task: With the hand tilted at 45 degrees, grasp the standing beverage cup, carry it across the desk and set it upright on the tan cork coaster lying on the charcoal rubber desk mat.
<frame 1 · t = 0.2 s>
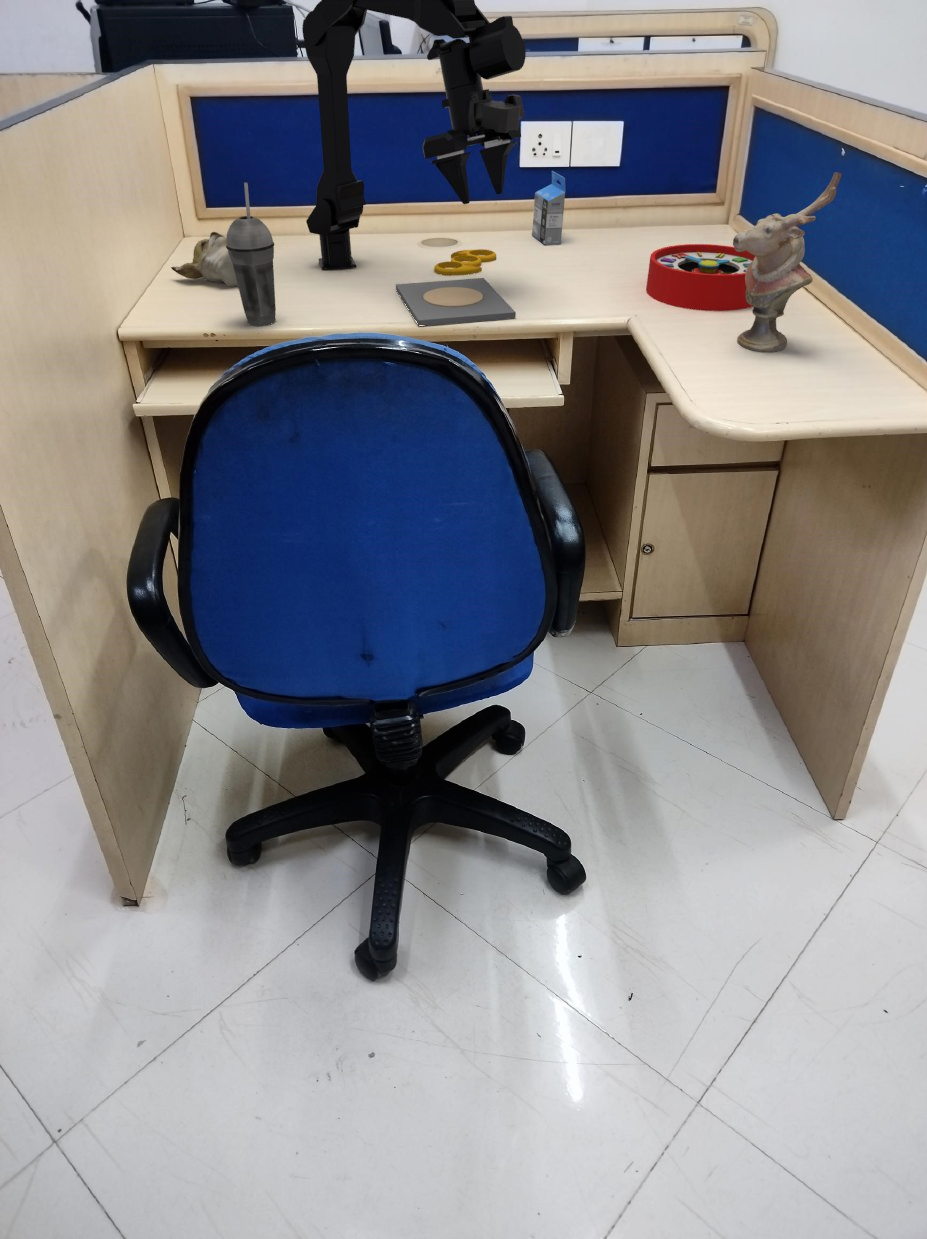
hand: (483, 198, 136), 15 cm above the table, fingers open, 9 cm apart
toy clock: (703, 295, 147), on the table
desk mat: (453, 303, 143), on the table
label tape box: (546, 240, 177), on the table
ceramic sculpture: (220, 282, 154), on the table
yellow joined rings: (465, 267, 162), on the table
decorative bust: (750, 344, 127), on the table
beverage cup: (261, 322, 136), on the table
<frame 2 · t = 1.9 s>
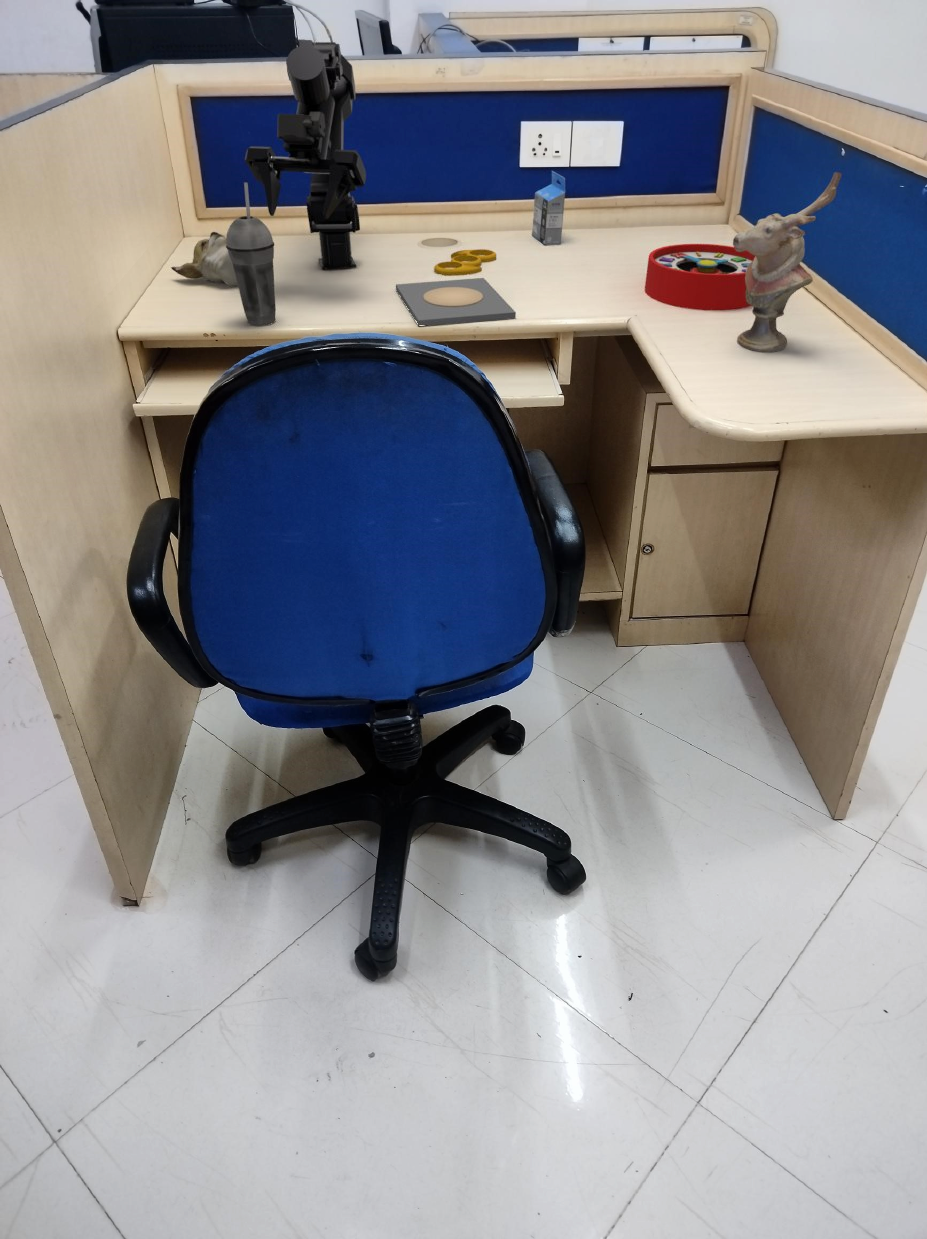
hand: (298, 215, 135), 14 cm above the table, fingers open, 9 cm apart
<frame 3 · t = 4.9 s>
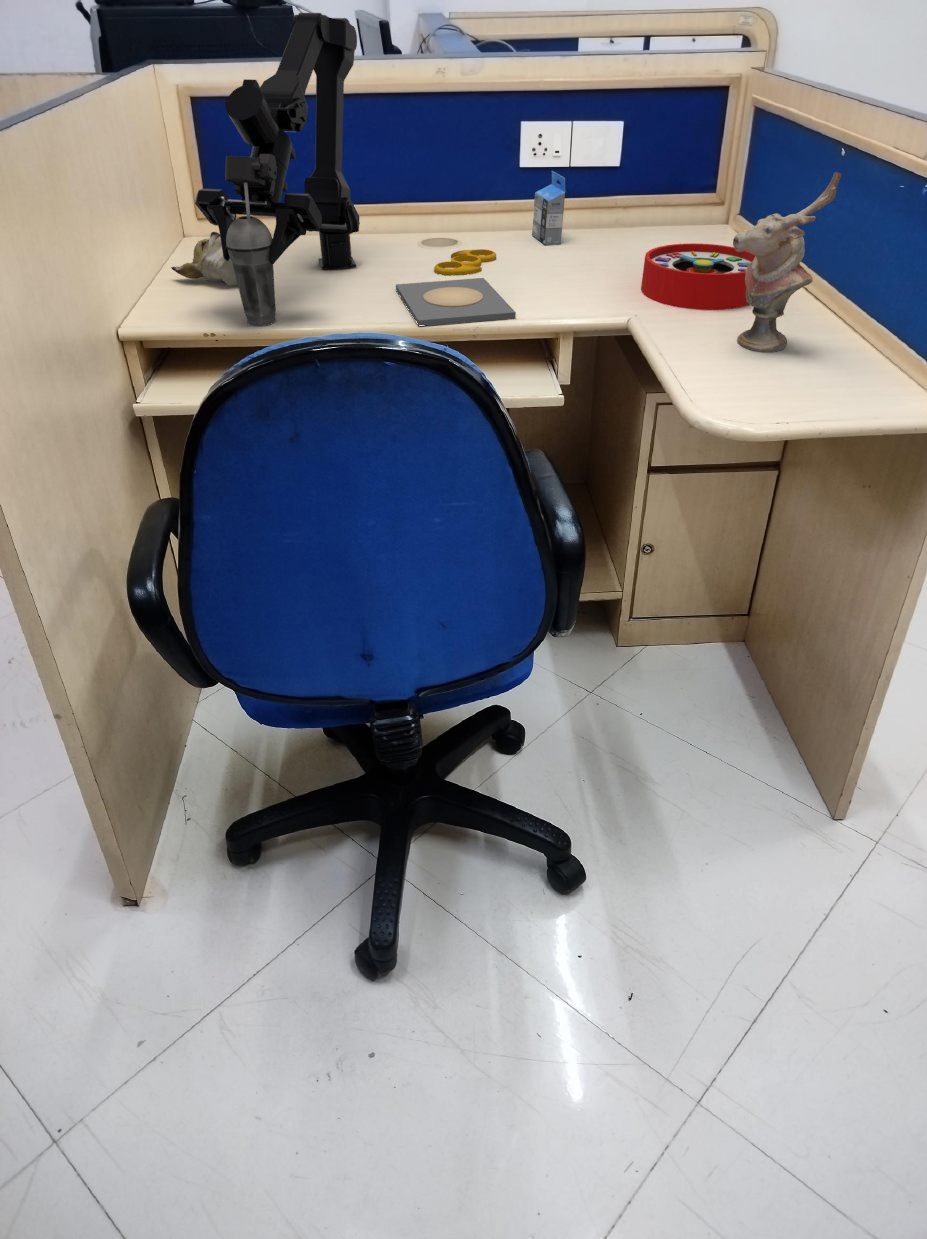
hand: (248, 260, 129), 10 cm above the table, fingers closed on beverage cup, 7 cm apart
beverage cup: (261, 322, 136), on the table, touching gripper
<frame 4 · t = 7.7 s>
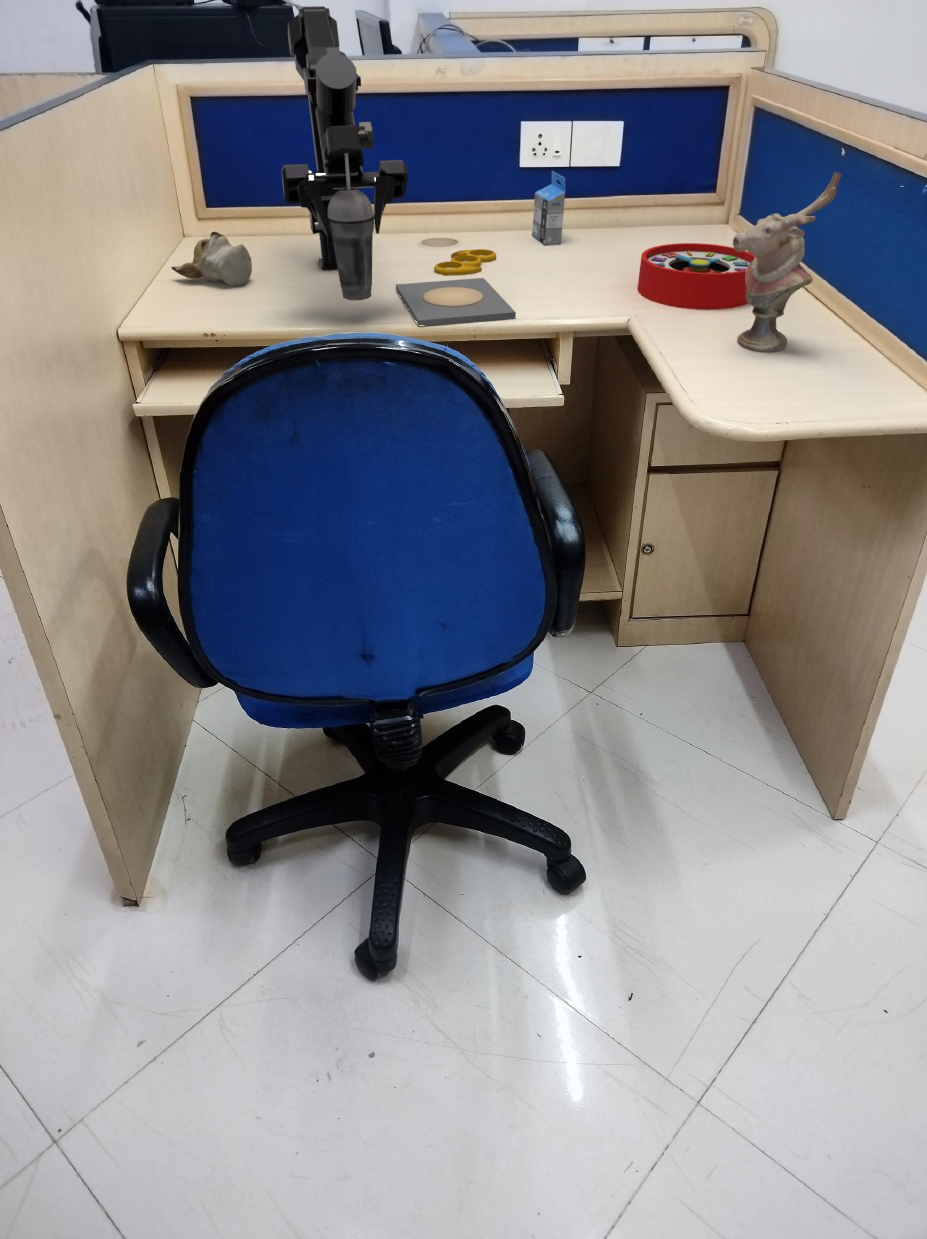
hand: (353, 233, 127), 13 cm above the table, fingers closed on beverage cup, 7 cm apart
beverage cup: (357, 297, 134), point 3 cm above the table, touching gripper
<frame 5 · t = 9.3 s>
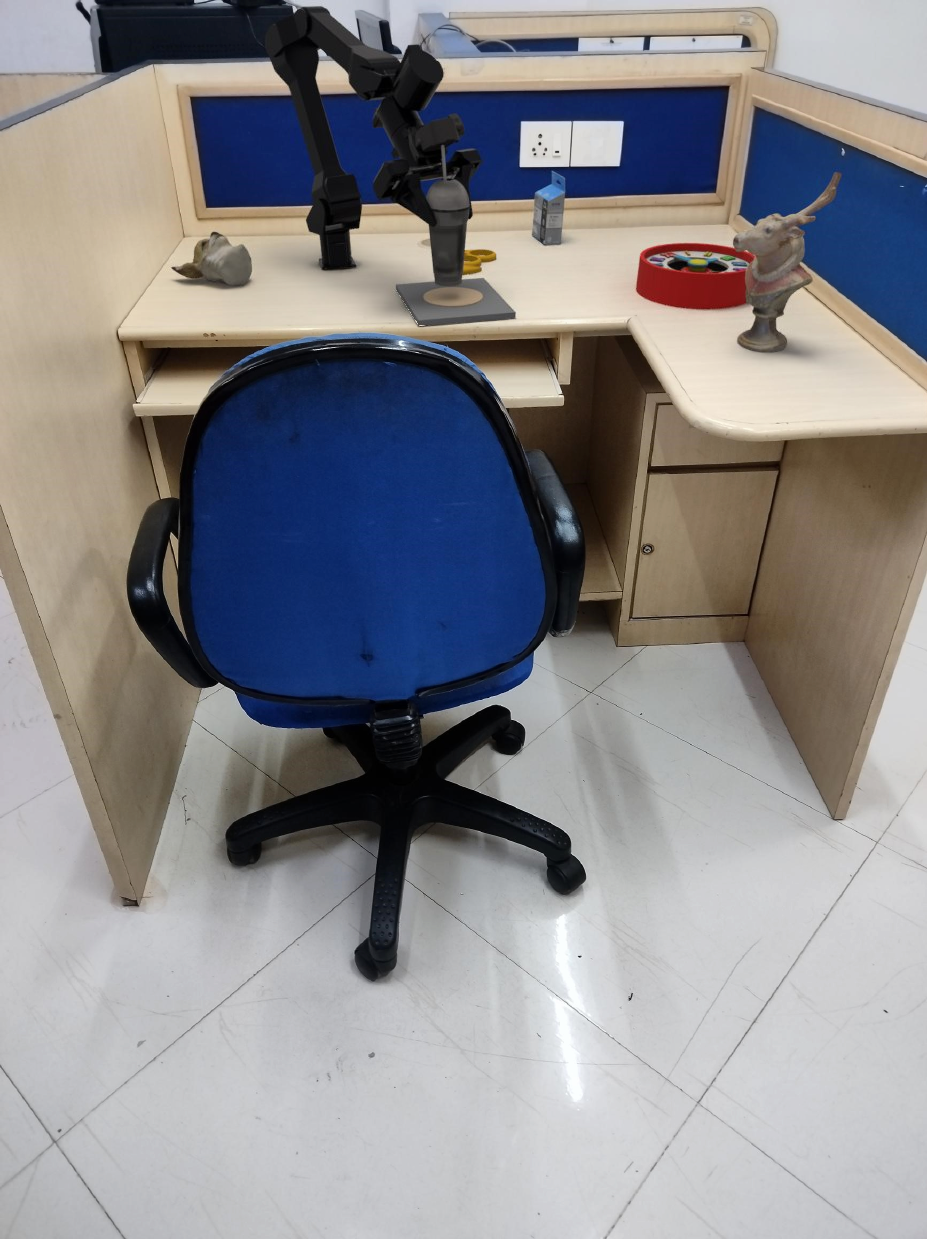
hand: (453, 221, 133), 13 cm above the table, fingers closed on beverage cup, 7 cm apart
beverage cup: (448, 283, 140), point 3 cm above the table, touching gripper
when the fingers open (12 cm above the table, at t = 10.3 s): beverage cup stays where it is, resting on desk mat.
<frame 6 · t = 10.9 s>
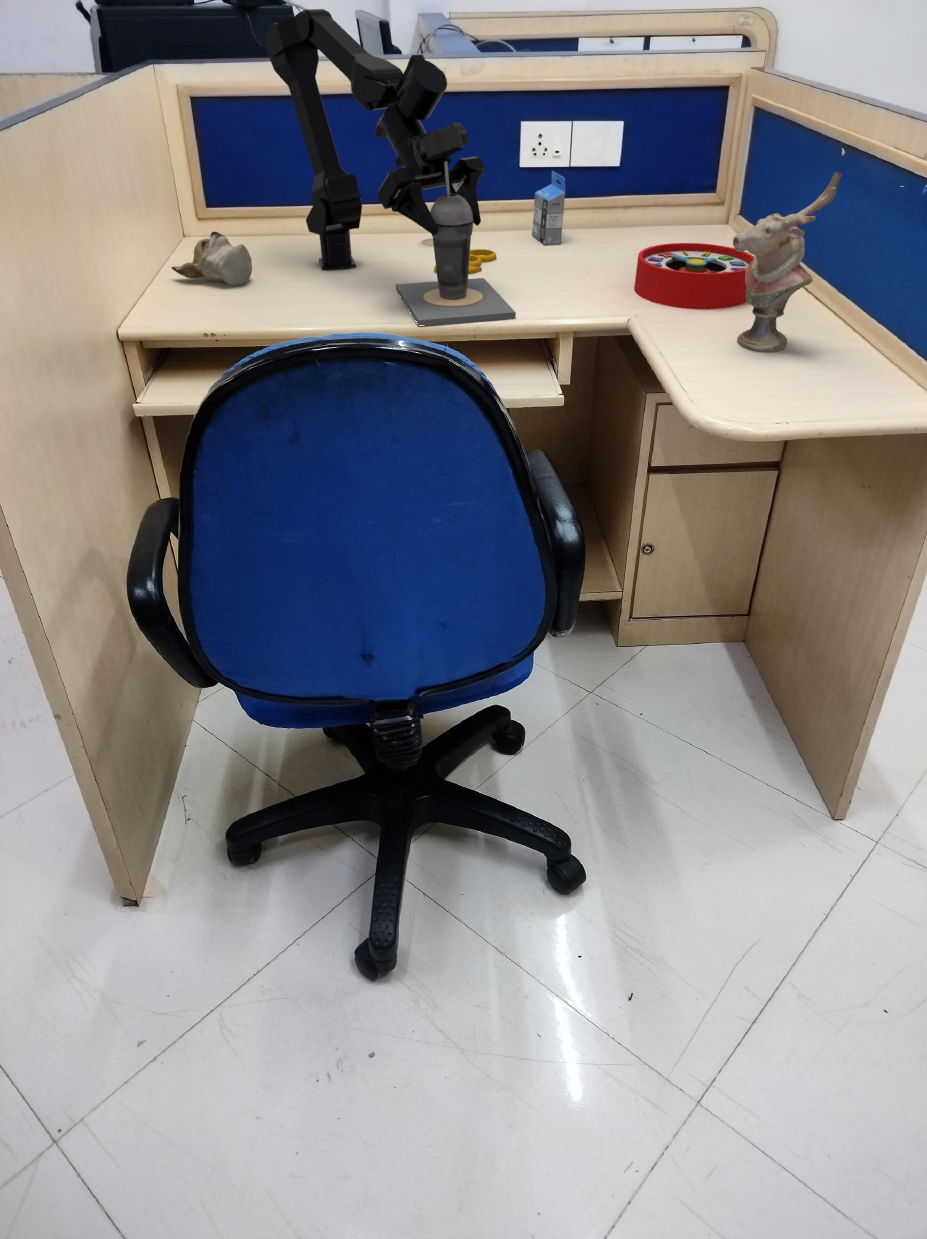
hand: (458, 228, 134), 12 cm above the table, fingers open, 9 cm apart
beverage cup: (453, 296, 142), point 1 cm above the table, touching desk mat
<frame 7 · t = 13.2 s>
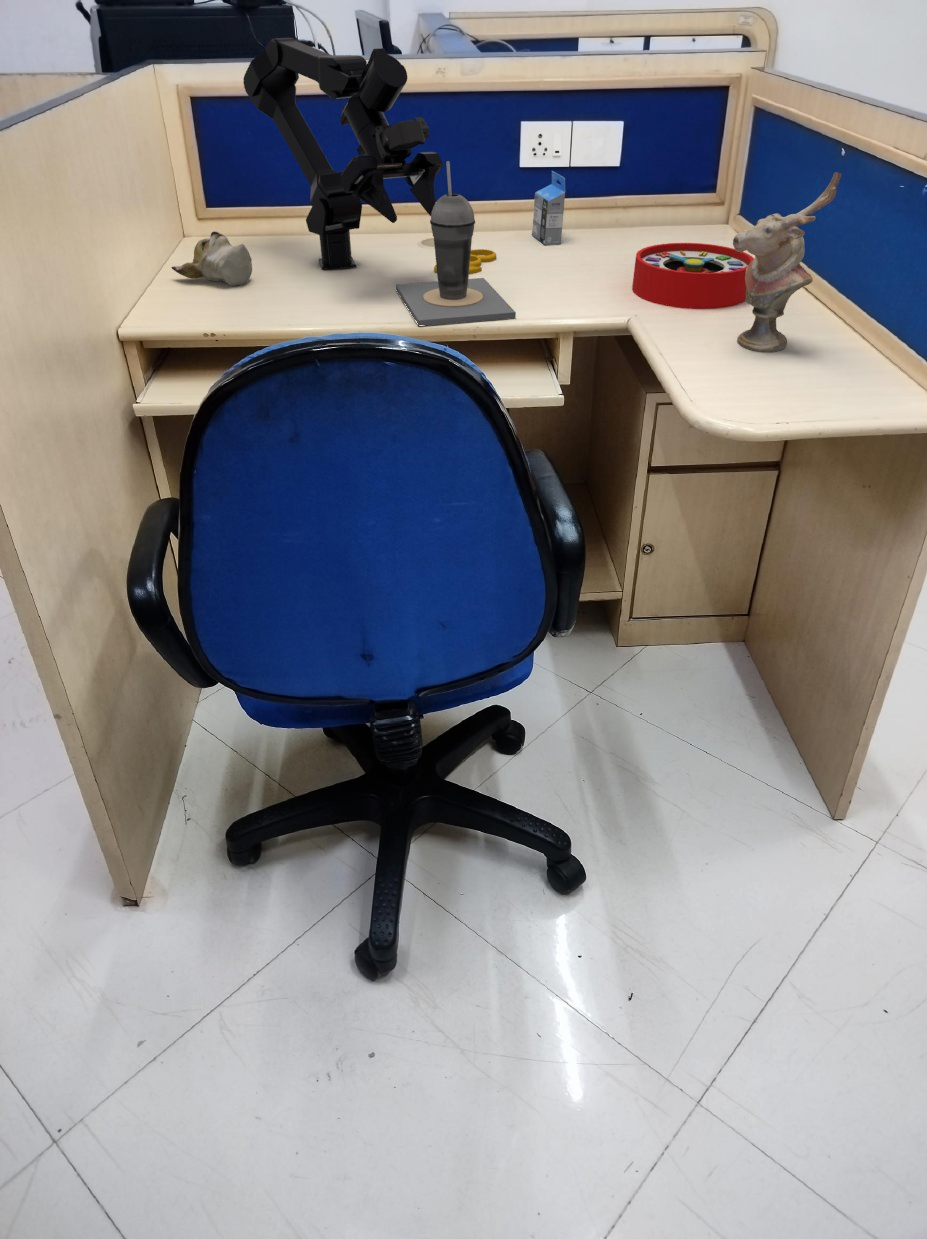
hand: (415, 218, 140), 12 cm above the table, fingers open, 9 cm apart
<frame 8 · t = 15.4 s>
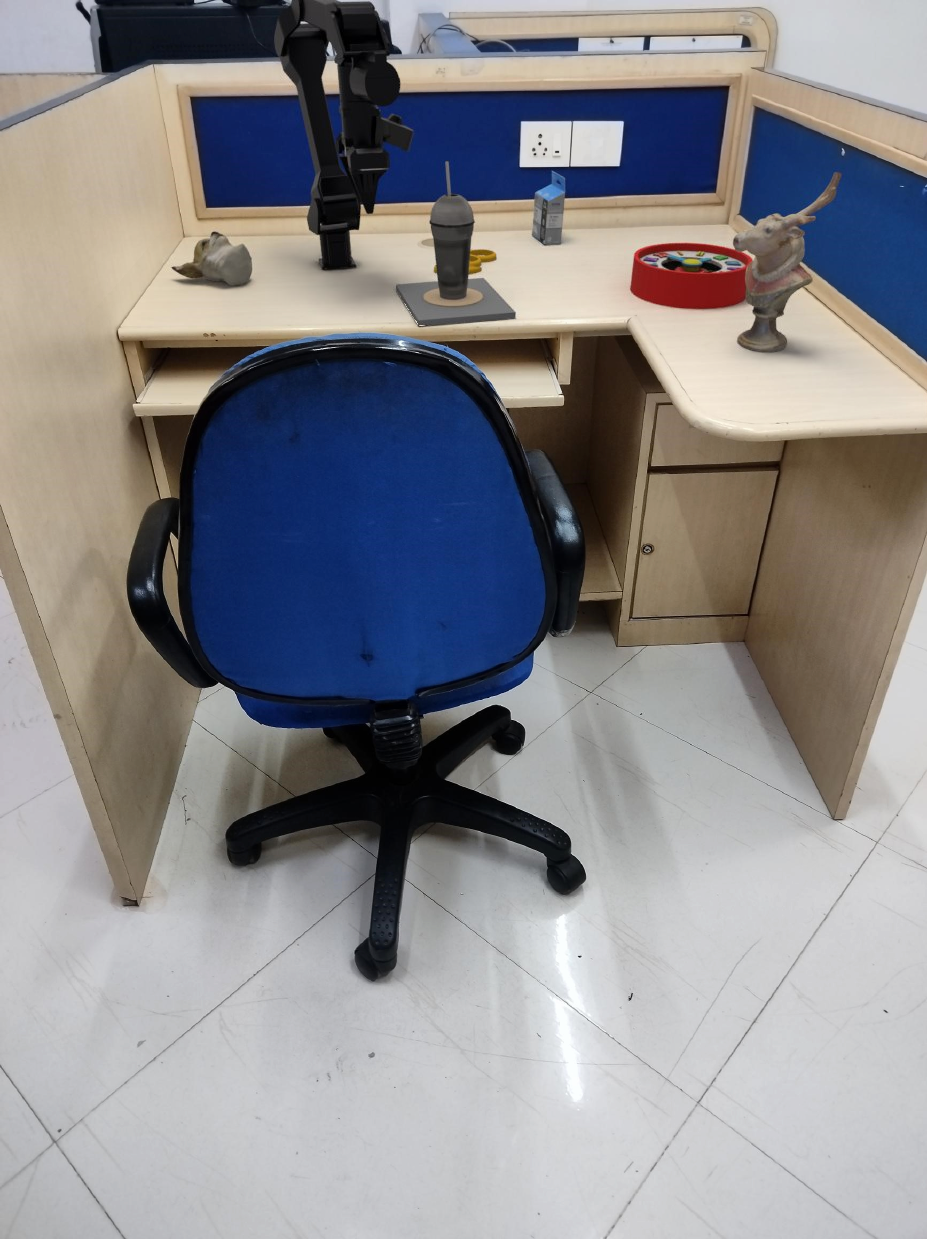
hand: (365, 207, 142), 13 cm above the table, fingers open, 9 cm apart
at the end: beverage cup 0.0 cm from the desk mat (horizontally); beverage cup tilted 0°; beverage cup touching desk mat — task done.
